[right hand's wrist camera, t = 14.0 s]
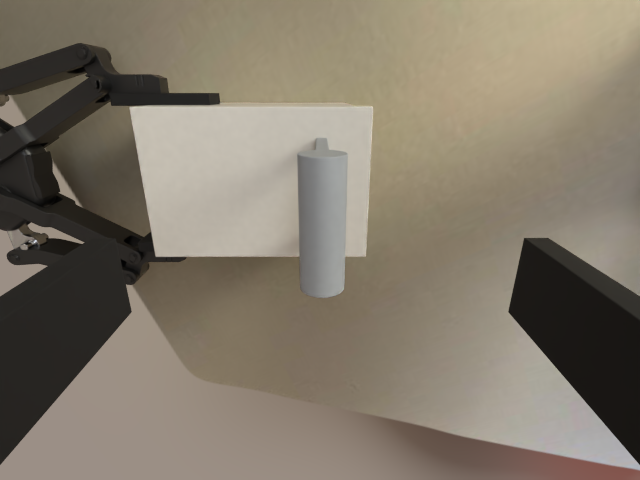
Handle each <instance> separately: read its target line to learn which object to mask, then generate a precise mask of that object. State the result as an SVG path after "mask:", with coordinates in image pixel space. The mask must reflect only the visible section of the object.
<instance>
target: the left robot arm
mask: <svg viewBox="0 0 640 480" xmlns="http://www.w3.org/2000/svg"><path fill="white" fill-rule="evenodd" d="M84 73H87V75H86V77H89V78H88V79H86V80H85V81H83V82H82V83H81V84H79V85H78V86H76V87H75V88H74V89H72V90H71V91H69V92H68V93H66V94H65V95H64V96H62V97H61V98H59V99H58V100H56V101H55V102H54V103H52V104H51V105H49V106H48V107H46V108H45V109H44V110H42V111H41V112H39V113H38V114H37V115H35V116H34V117H32V118H31V119H29V120H28V121H27V122H25V123H24V124H22V125H19V126H16V127H13V126H12V125H10V124H8V123H7V122H5V121H4V120H2V119H0V229H1V230H4V231H7V232H8V235H9V237H10V240H11V242H12V245H13V247H14V250H12V251H10V252H8V254H7V259H8V260H9V262H11V263H12V264H14V265H26V264H43V265H47V266H49V265H51V264H52V263H54V262H55V261H57V260H58V259H60V258H61V257H63V256H65V255H66V254H68V253H69V252H71V251H72V250H74V249H76V248H77V247H79V246H80V245H82V244H79V243H75V242H71V241H67V240H62V239H54V238H51V239H50V238H49V239H48V235H47V234H45V233H43V234H40V233H36V232H33V231H31V230H30V229H29V228H28V226H27V225H28V224H29V223H31V222H32V223H34V224H37V225H39V226H42V227H52V228H55V229H57V230H59V231H61V232H63V233H66V234H68V235H70V236H72V237H74V238H76V239H79V240H81V241H83V242H87V241H88V240H90V239H91V238H116V242H117V246H118V251H119V256H120V260H121V265H122V270H123V274H124V279H125V284H127V285H132V284H134V283H135V282H136V281H137V280H138V279H139V278H140V277H141V276H142V275H143V274H144V273H145V272H146V271H147V270H148V269H149V263H148V262H180V261H183V260H185V259H186V258H187V257H156V256H155V250H154V245H153V239H152V233H151V232H150V233H149V234H148V235H146V236H145V237H142V236H140V235H138V234H136V233H134V232H132V231H130V230H128V229H125V228H123V227H121V226H119V225H117V224H115V223H113V222H111V221H109V220H107V219H105V218H102V217H100V216H98V215H96V214H94V213H92V212H90V211H88V210H86V209H84V208H82V207H79V206H77V205H76V204H75V201H74V200H72V199H70V198H68V197H66V196H64V195H62V194H60V193H58V192H60V189H59V185H58V182H57V180H56V178H55V176H54V174H53V172H52V158H51V154H50V152H46V150H45V149H44V148H45V147H47V146H48V145H50V144H51V143H53V142H54V141H55V140H57V139H58V138H59V136H60V135H61V134H63V133H64V132H66V131H67V130H68V129H70V128H71V127H73V126H74V125H76V124H77V123H79V122H80V121H82V120H83V119H85V118H86V117H88V116H89V115H91V114H92V113H94V112H95V111H96V110H98V109H99V108H101V107H102V106H104V105H105V104H107V103H108V102H110V101H111V106H145V105H216V104H220V98H219V93H169V90H168V83H167V78H164V77H162V76H159V75H121V74H119V73H118V72H117V71H116V70H115V69H114V67H113V65H112V63H111V55H110V53H109V52H108V51H107V50H106V49H105V48H102V47H97V46H92V45H87V44H82V43H78V44H74V45H71V46H68V47H65V48H63V49H60V50H57V51H54V52H51V53H48V54H45V55H42V56H39V57H36V58H33V59H30V60H27V61H24V62H21V63H18V64H15V65H12V66H9V67H6V68H3V69H0V106H3V105H5V103H6V102H7V101H9V96H8V95H16V94H22V93H26V92H29V91H32V90H35V89H38V88H42V87H45V86H48V85H51V84H54V83H57V82H60V81H63V80H66V79H69V78H72V77H75V76H78V75H81V74H84Z"/></svg>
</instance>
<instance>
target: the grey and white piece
mask: <svg viewBox="0 0 640 480" xmlns="http://www.w3.org/2000/svg"><path fill="white" fill-rule="evenodd" d="M129 109H130V114H131V120H132V126H133V131H134V137H135V143H136V148H137V154H138V160H139V165H140V171H141V177H142V182H143V188H144V194H145V199H146V205H147V211H148V216H149V222H150V228H151V233H152V239H153V245H154V250H155V256H156V257H299V258H300V289H301V291H302V292H303V293H305V294H306V295H309V296H312V297H317V298H328V297H333V296H336V295H338V294H340V293H341V292H342V291H343V290H344V282H345V257H366V244H367V224H368V204H369V183H370V163H371V143H372V122H373V107H372V106H131V107H129Z"/></svg>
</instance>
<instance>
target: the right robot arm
mask: <svg viewBox="0 0 640 480" xmlns="http://www.w3.org/2000/svg"><path fill="white" fill-rule="evenodd" d="M130 313H131V307H130V303H129V298H128V293H127V288H126V284H125V279H124V274H123V270H122V265H121V260H120V256H119V251H118V246H117V242H116V238H91V239H90V240H88V241H87V242H85V243H83V244H82V245H80V246H79V247H77V248H76V249H74V250H72V251H71V252H69V253H68V254H66V255H65V256H63V257H61V258H60V259H58V260H57V261H55V262H54V263H52V264H51V265H49V266H47V267H46V268H44V269H43V270H41V271H40V272H38V273H36V274H35V275H33V276H32V277H30V278H29V279H27V280H25V281H24V282H22V283H21V284H19V285H18V286H16V287H14V288H13V289H11V290H10V291H8V292H7V293H5V294H4V295H2V296H0V464H1V463H2V462H3V461H4V460H5V459H6V457H7V456H8V455H9V454H10V453H11V452H12V451H13V449H14V448H15V447H16V446H17V445H18V444H19V442H20V441H21V440H22V439H23V438H24V437H25V435H26V434H27V433H28V432H29V431H30V430H31V428H32V427H33V426H34V425H35V424H36V423H37V421H38V420H39V419H40V418H41V417H42V416H43V414H44V413H45V412H46V411H47V410H48V409H49V407H50V406H51V405H52V404H53V403H54V402H55V400H56V399H57V398H58V397H59V396H60V395H61V393H62V392H63V391H64V390H65V389H66V388H67V386H68V385H69V384H70V383H71V382H72V381H73V379H74V378H75V377H76V376H77V375H78V374H79V373H80V371H81V370H82V369H83V368H84V367H85V365H86V364H87V363H88V362H89V361H90V360H91V359H92V357H93V356H94V355H95V354H96V353H97V352H98V350H99V349H100V348H101V347H102V346H103V345H104V343H105V342H106V341H107V340H108V339H109V338H110V336H111V335H112V334H113V333H114V332H115V331H116V329H117V328H118V327H119V326H120V325H121V324H122V322H123V321H124V320H125V319H126V318H127V317H128V315H129V314H130ZM509 313H510V314H511V315H512V317H513V318H514V319H515V320H516V321H517V322H518V324H519V325H520V326H521V327H522V328H523V329H524V331H525V332H526V333H527V334H528V335H529V336H530V338H531V339H532V340H533V341H534V342H535V343H536V345H537V346H538V347H539V348H540V349H541V350H542V352H543V353H544V354H545V355H546V356H547V357H548V359H549V360H550V361H551V362H552V363H553V364H554V366H555V367H556V368H557V369H558V370H559V371H560V373H561V374H562V375H563V376H564V377H565V378H566V380H567V381H568V382H569V383H570V384H571V385H572V386H573V388H574V389H575V390H576V391H577V392H578V393H579V395H580V396H581V397H582V398H583V399H584V400H585V402H586V403H587V404H588V405H589V406H590V407H591V409H592V410H593V411H594V412H595V413H596V414H597V416H598V417H599V418H600V419H601V420H602V421H603V423H604V424H605V425H606V426H607V427H608V428H609V430H610V431H611V432H612V433H613V434H614V435H615V437H616V438H617V439H618V440H619V441H620V442H621V444H622V445H623V446H624V447H625V448H626V449H627V451H628V452H629V453H630V454H631V455H632V456H633V457H634V459H635V460H636V461H637V462H638V463H639V464H640V296H638V295H636V294H635V293H633V292H632V291H630V290H629V289H627V288H626V287H624V286H622V285H621V284H619V283H618V282H616V281H615V280H613V279H611V278H610V277H608V276H607V275H605V274H604V273H602V272H600V271H599V270H597V269H596V268H594V267H593V266H591V265H589V264H588V263H586V262H585V261H583V260H582V259H580V258H579V257H577V256H575V255H574V254H572V253H571V252H569V251H568V250H566V249H564V248H563V247H561V246H560V245H558V244H557V243H555V242H553V241H552V240H550V239H549V238H524V242H523V246H522V251H521V256H520V260H519V265H518V270H517V274H516V279H515V284H514V288H513V293H512V298H511V302H510V307H509Z"/></svg>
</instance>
